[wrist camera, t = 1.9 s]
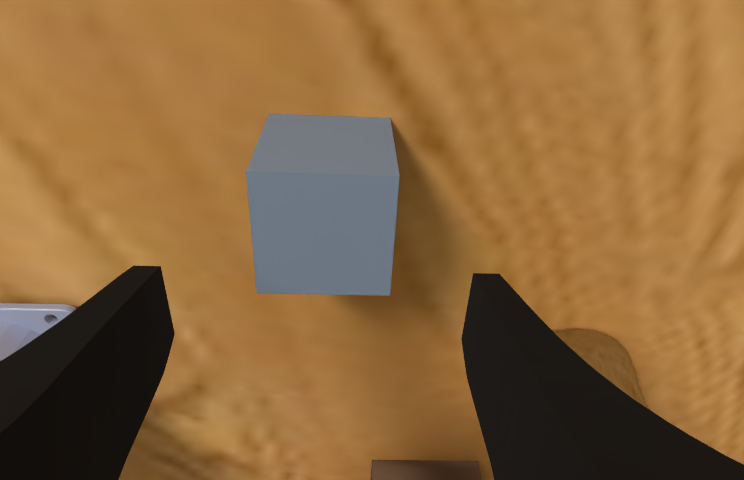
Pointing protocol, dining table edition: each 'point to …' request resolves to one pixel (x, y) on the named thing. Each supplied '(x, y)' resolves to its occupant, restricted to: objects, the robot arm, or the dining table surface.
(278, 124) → the blue block
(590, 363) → the beer glass
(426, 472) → the base slab
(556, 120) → the dining table surface
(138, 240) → the dining table surface
